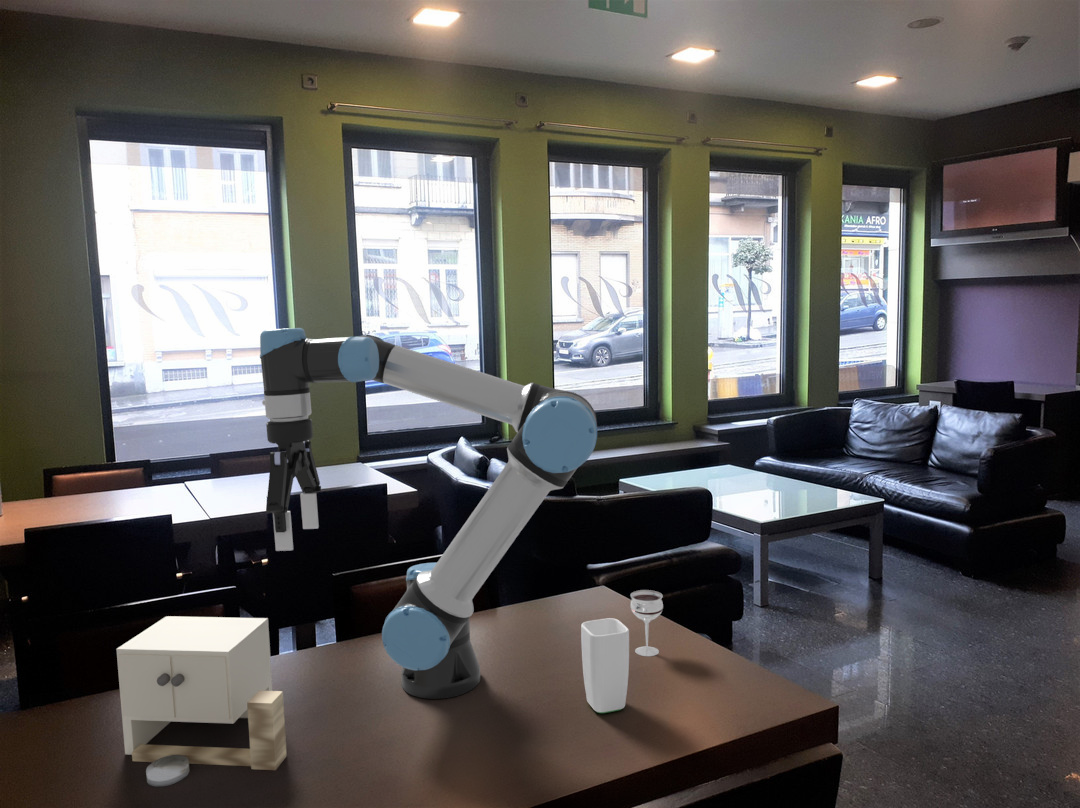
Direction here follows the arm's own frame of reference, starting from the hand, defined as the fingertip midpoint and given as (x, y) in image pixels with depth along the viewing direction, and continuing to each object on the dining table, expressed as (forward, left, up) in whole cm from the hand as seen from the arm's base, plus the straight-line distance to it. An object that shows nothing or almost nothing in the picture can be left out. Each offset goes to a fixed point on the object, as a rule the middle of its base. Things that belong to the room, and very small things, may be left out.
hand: (298, 538), depth 137 cm
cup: (-53, -6, -32) cm, 62 cm away
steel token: (+14, +20, -32) cm, 41 cm away
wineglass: (-61, -30, -32) cm, 75 cm away
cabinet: (+15, +8, -32) cm, 36 cm away
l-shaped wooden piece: (+10, +16, -32) cm, 37 cm away
